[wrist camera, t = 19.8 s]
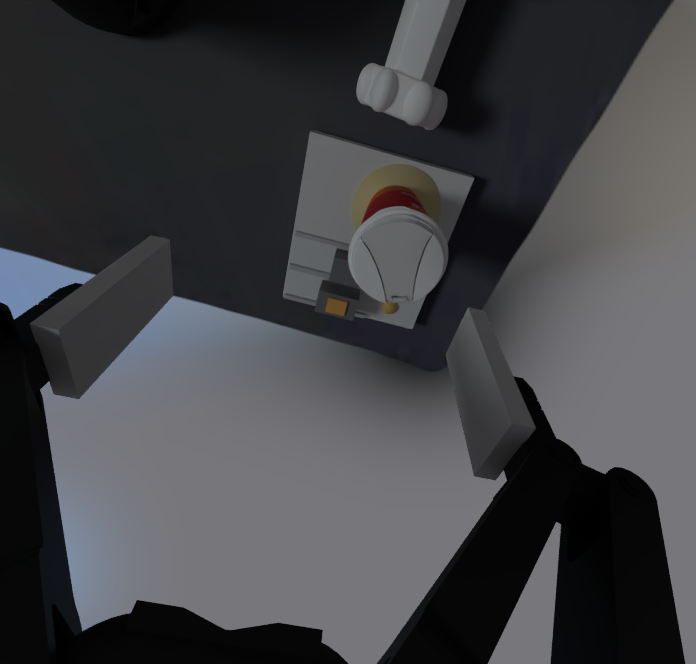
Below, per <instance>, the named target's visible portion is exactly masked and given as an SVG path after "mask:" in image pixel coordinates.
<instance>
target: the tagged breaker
mask: <svg viewBox="0 0 696 664" xmlns="http://www.w3.org/2000/svg"><path fill="white" fill-rule="evenodd" d="M359 298H360V289H356V288H352V287H349V286H345V285H341V284H337V283H333V282H329V281H325V280H322V283H321V286H320V289H319V293H318V297H317V302H316V306H315V311H316V312H320V313H324V314H328V315H332V316H336V317H340V318H343V319H347V320H351V321H353V320H354V316H355V313H356V310H357V306H358V303H359Z"/></svg>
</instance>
